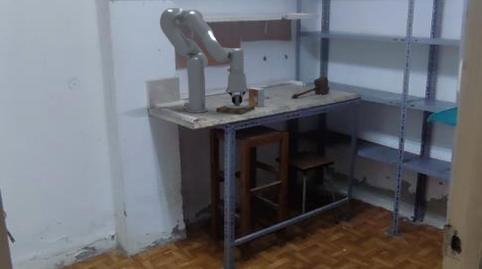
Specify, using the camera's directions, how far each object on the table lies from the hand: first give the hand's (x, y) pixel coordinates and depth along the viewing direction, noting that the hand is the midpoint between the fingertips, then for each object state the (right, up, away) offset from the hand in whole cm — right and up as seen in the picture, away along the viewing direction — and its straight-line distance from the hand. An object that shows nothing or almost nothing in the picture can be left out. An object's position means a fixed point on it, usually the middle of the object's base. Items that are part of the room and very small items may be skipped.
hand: (237, 103), depth 279 cm
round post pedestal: (-1, -2, +5) cm, 5 cm away
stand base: (-1, -4, +5) cm, 6 cm away
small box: (+11, 0, +18) cm, 22 cm away
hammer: (+48, +8, +50) cm, 69 cm away
